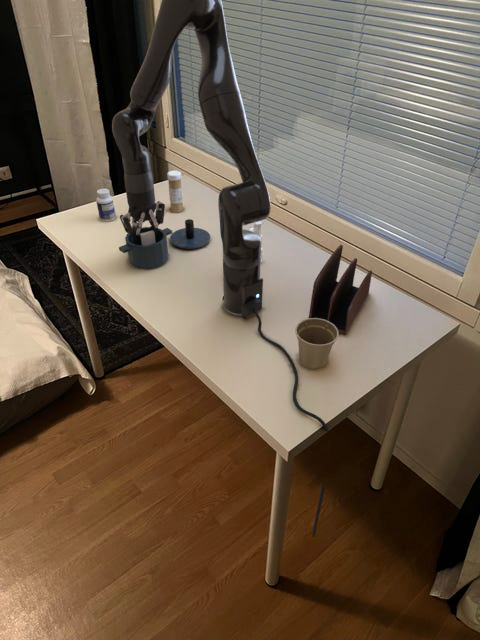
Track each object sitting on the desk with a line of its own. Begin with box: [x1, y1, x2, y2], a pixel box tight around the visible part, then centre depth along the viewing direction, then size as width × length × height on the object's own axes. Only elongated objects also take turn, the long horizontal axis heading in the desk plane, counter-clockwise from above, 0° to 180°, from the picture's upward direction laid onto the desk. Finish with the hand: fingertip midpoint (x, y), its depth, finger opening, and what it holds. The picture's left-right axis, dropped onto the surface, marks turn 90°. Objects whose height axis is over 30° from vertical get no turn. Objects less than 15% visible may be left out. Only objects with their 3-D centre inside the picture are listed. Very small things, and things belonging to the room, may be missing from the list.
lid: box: [169, 218, 211, 250], centre depth 154 cm, size 13×13×7 cm
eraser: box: [140, 230, 156, 245], centre depth 143 cm, size 1×5×4 cm, turn 122°
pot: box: [118, 226, 173, 270], centre depth 145 cm, size 12×17×7 cm
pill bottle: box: [95, 187, 116, 222], centre depth 165 cm, size 5×5×10 cm
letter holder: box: [308, 244, 373, 336], centre depth 124 cm, size 10×20×14 cm, turn 152°
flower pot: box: [294, 317, 340, 370], centre depth 111 cm, size 9×9×9 cm
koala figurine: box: [247, 220, 265, 263], centre depth 143 cm, size 8×7×12 cm
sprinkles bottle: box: [166, 170, 185, 213], centre depth 169 cm, size 5×5×14 cm
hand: (146, 241), depth 144 cm, fingers closed on eraser, 5 cm apart
